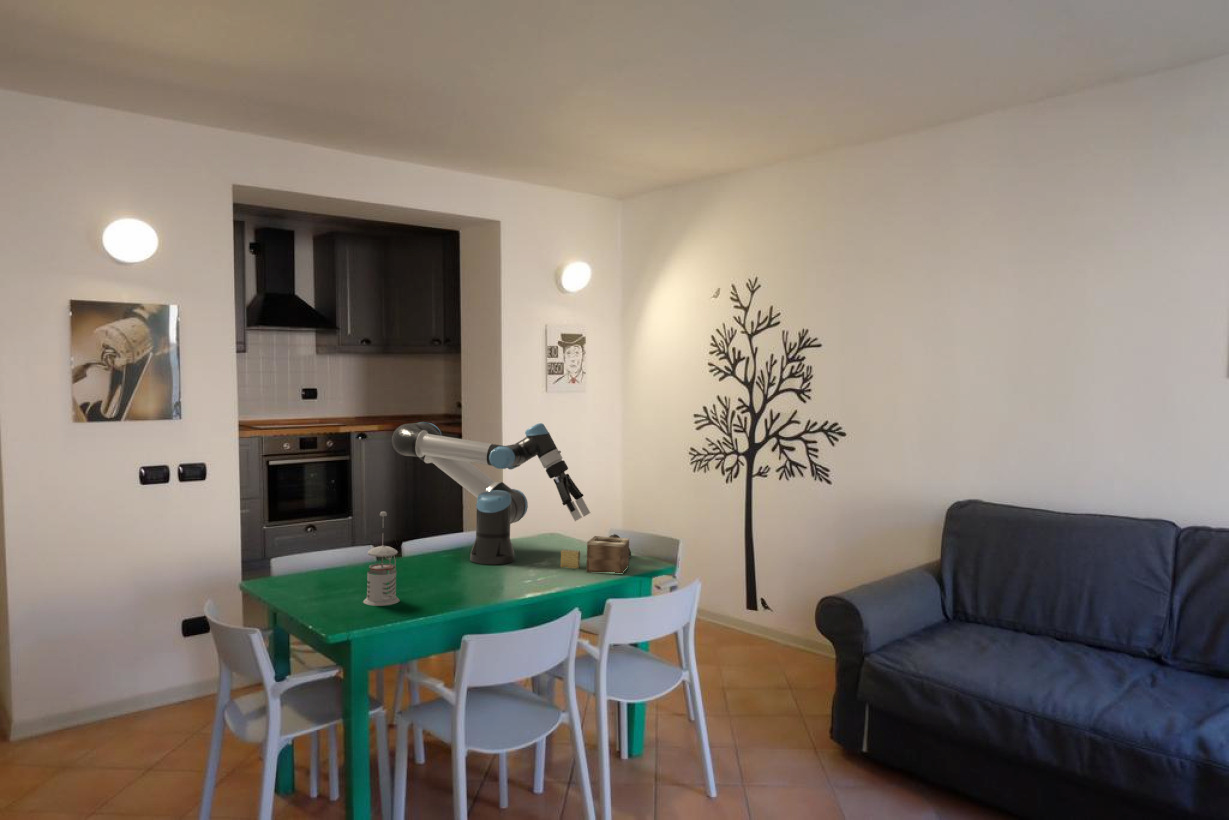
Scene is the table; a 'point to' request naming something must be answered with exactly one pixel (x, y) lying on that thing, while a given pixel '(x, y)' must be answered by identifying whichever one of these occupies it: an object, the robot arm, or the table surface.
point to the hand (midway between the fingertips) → (583, 517)
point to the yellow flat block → (570, 558)
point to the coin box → (607, 554)
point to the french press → (381, 577)
